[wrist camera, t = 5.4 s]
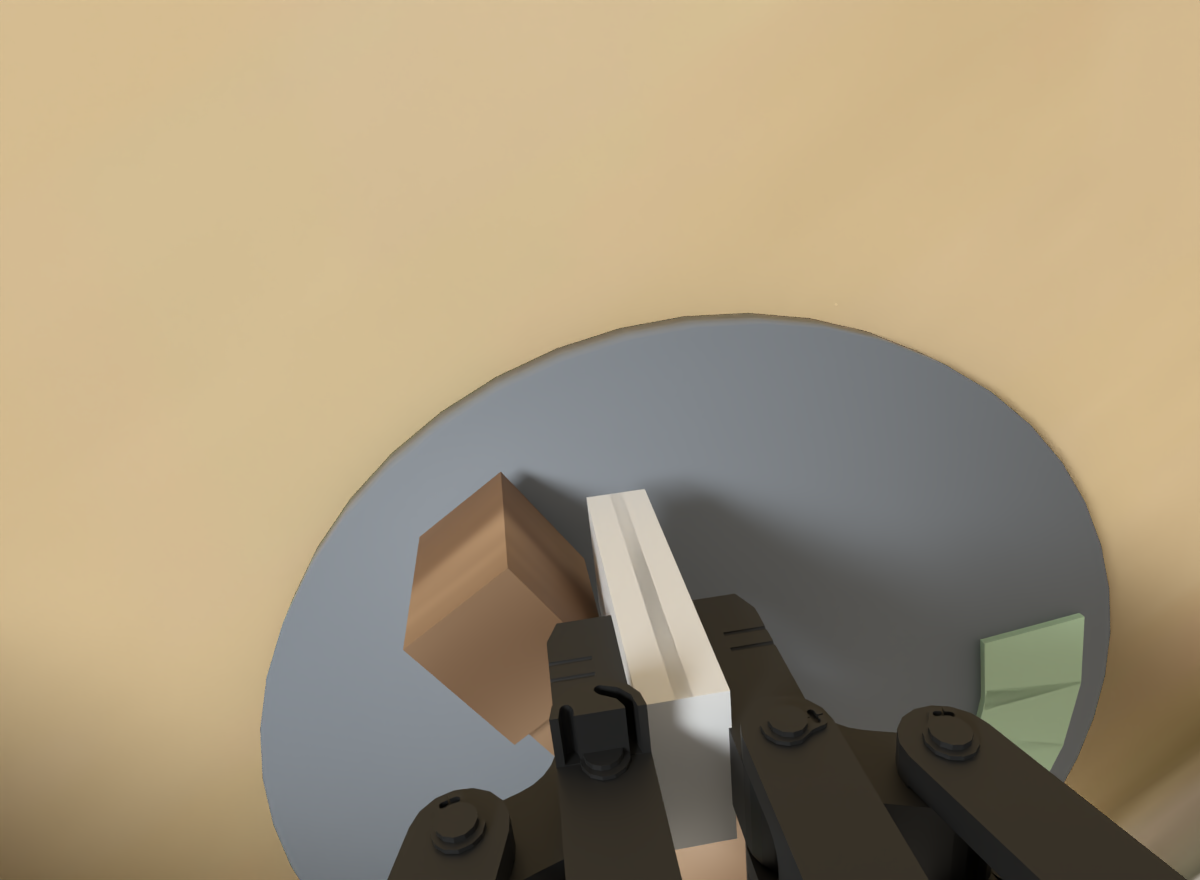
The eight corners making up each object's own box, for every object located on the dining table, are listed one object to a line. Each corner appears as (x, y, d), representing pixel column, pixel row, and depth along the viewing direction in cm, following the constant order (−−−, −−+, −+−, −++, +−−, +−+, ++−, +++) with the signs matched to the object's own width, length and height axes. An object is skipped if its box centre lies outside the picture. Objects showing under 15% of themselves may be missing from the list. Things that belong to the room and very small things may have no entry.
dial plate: (126, 879, 22) (55, 1028, 18) (572, 103, 16) (600, 92, 13) (774, 1057, 29) (816, 1189, 26) (1230, 566, 24) (1369, 644, 20)
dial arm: (359, 584, 18) (327, 709, 14) (563, 421, 17) (588, 504, 13) (831, 995, 26) (894, 1147, 22) (982, 895, 25) (1076, 1034, 21)
